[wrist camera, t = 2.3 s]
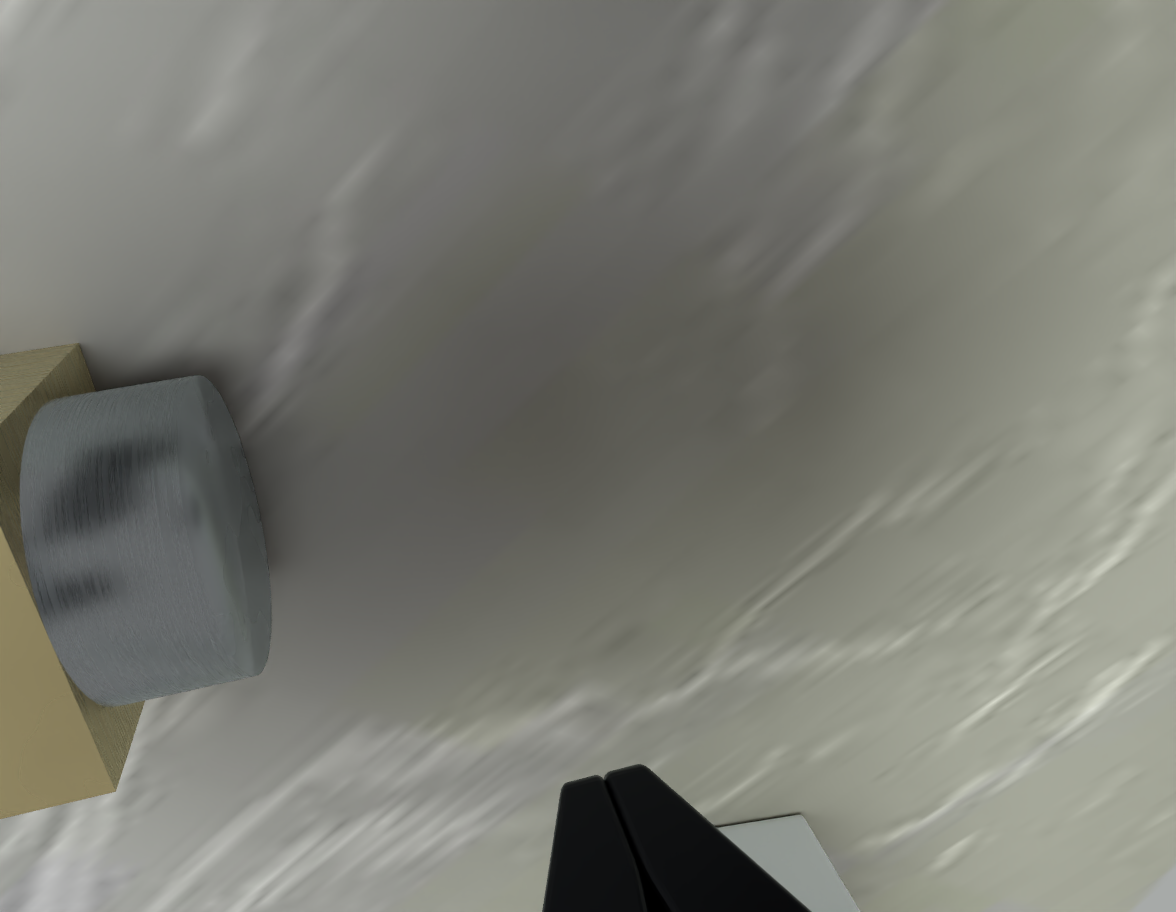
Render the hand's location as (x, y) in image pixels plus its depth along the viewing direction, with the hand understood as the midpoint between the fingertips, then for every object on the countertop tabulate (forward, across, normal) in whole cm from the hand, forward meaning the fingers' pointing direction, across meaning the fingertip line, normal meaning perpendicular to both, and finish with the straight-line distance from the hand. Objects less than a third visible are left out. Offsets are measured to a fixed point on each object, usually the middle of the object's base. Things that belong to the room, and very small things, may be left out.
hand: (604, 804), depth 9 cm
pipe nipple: (+11, +9, 0) cm, 14 cm away
